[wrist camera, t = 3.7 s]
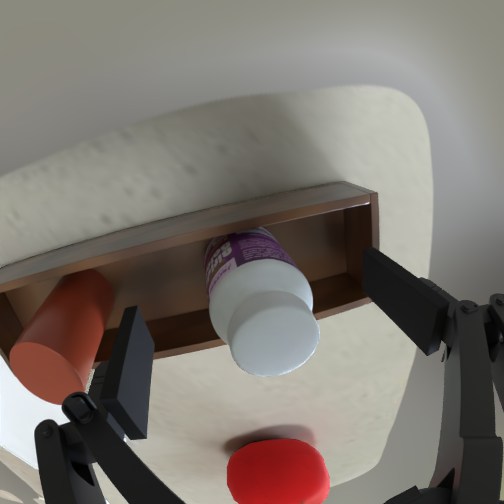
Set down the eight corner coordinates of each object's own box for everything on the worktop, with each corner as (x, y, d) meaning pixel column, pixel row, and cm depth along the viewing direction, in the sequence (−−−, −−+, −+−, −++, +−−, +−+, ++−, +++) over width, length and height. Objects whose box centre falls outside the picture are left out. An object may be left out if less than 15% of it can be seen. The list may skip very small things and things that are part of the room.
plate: (48, 465, 28) (46, 475, 26) (-67, 371, 19) (-73, 380, 17) (129, 427, 26) (127, 441, 24) (-35, 284, 17) (-46, 294, 16)
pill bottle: (205, 219, 20) (218, 288, 11) (283, 223, 21) (348, 288, 12) (201, 292, 22) (212, 390, 13) (272, 292, 23) (319, 382, 14)
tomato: (243, 417, 28) (263, 499, 19) (333, 426, 32) (364, 488, 23) (206, 463, 31) (216, 530, 22) (288, 468, 35) (307, 524, 26)
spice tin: (74, 254, 19) (17, 325, 10) (125, 289, 20) (96, 376, 12) (52, 299, 19) (4, 375, 11) (99, 330, 21) (70, 416, 13)
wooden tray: (345, 180, 21) (378, 192, 17) (351, 274, 24) (378, 300, 20) (-7, 270, 18) (-33, 294, 14) (31, 345, 21) (14, 376, 17)
